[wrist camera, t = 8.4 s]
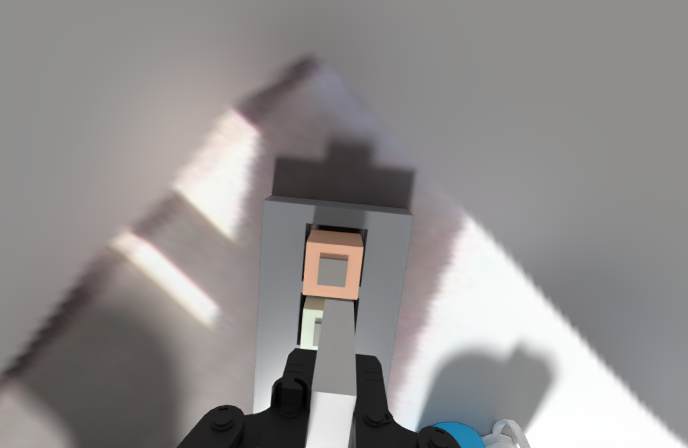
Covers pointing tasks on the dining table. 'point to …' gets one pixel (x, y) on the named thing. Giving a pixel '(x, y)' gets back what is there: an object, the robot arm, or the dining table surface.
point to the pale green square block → (314, 320)
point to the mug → (463, 434)
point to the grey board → (288, 277)
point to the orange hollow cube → (333, 264)
